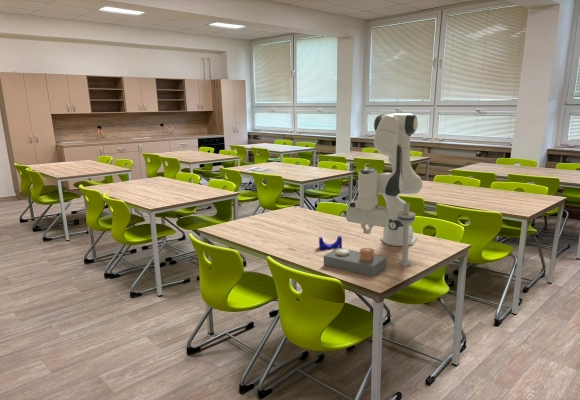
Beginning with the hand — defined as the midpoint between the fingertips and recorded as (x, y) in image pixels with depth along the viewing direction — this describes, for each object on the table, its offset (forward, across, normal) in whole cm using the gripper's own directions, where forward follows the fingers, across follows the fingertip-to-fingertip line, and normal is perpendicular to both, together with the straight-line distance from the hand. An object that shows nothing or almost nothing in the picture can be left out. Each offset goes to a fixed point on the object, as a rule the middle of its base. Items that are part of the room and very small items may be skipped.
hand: (366, 233), depth 190 cm
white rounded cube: (+17, +13, 0) cm, 21 cm away
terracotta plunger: (+14, 0, 0) cm, 14 cm away
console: (+18, +6, 0) cm, 19 cm away
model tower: (+18, -12, -15) cm, 27 cm away
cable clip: (+18, +30, -18) cm, 39 cm away
